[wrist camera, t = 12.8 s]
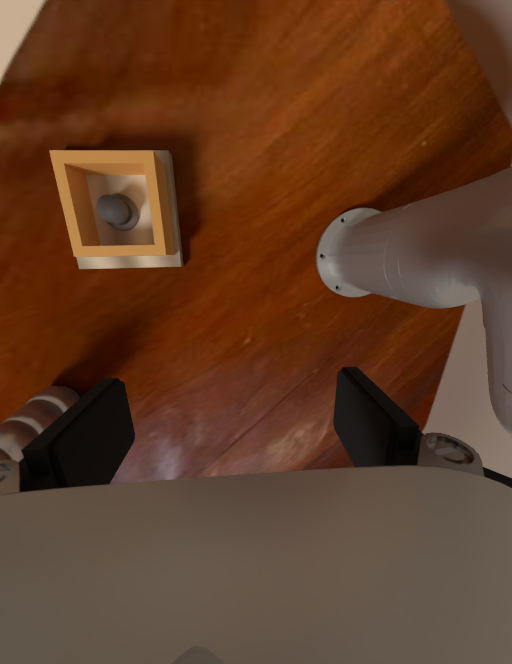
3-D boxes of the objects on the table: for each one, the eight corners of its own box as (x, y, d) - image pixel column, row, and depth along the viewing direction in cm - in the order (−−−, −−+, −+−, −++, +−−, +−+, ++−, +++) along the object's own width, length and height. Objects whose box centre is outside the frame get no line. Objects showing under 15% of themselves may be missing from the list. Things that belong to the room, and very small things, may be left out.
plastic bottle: (43, 378, 39) (-142, 491, 20) (86, 383, 40) (-52, 497, 21) (46, 411, 41) (-121, 543, 22) (87, 415, 42) (-40, 547, 23)
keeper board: (171, 155, 31) (160, 139, 27) (183, 266, 36) (175, 267, 31) (60, 155, 31) (30, 138, 26) (85, 268, 35) (64, 270, 31)
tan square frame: (163, 163, 30) (153, 150, 27) (174, 255, 34) (166, 254, 30) (73, 164, 30) (49, 150, 26) (93, 256, 33) (74, 256, 29)
